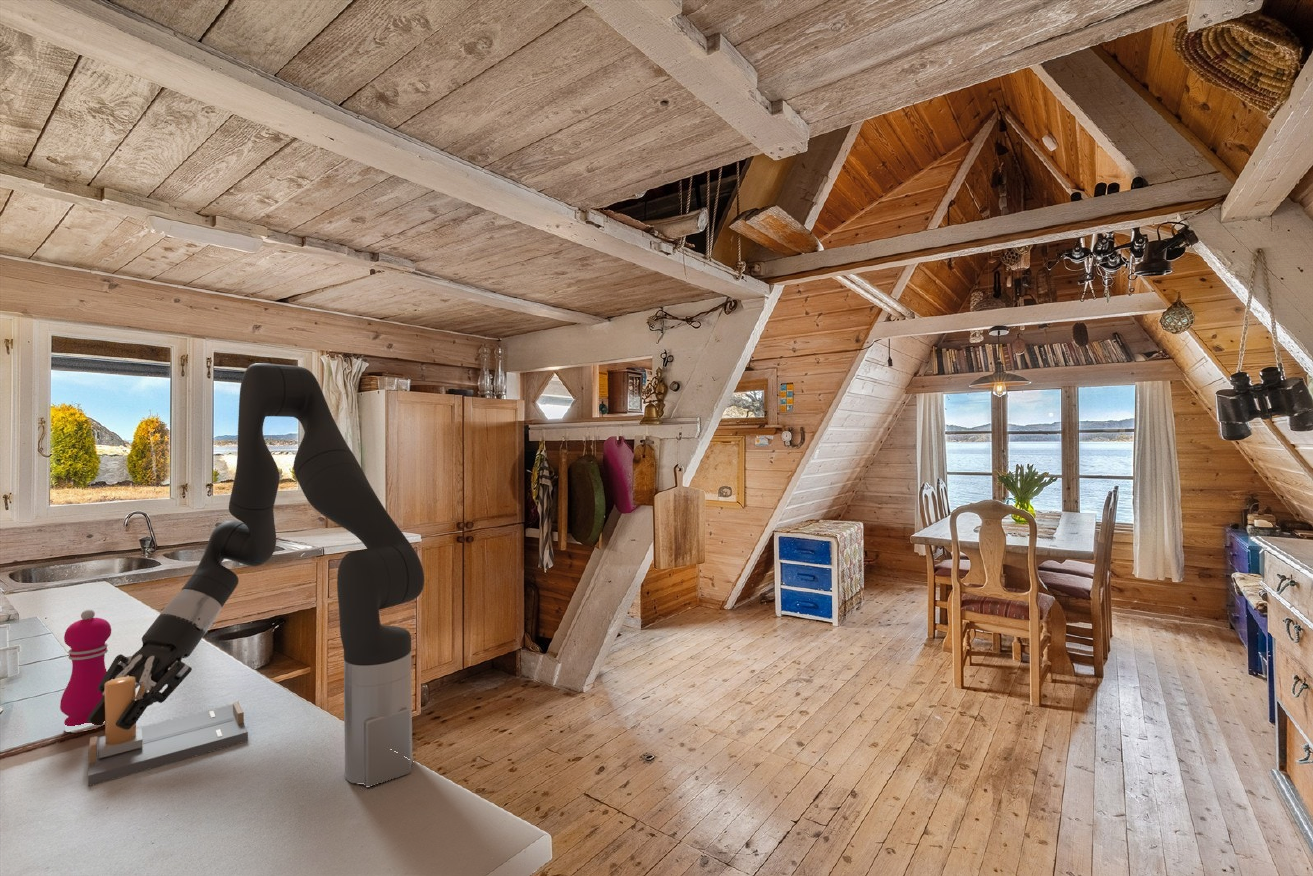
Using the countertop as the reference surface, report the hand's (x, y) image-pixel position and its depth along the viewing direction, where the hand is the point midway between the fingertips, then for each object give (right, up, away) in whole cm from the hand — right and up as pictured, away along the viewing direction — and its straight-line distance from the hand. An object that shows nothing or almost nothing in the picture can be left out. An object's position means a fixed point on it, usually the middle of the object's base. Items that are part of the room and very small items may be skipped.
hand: (107, 725), depth 94 cm
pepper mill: (-14, -6, +13) cm, 20 cm away
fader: (0, -4, +2) cm, 5 cm away
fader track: (+5, -6, +6) cm, 10 cm away
